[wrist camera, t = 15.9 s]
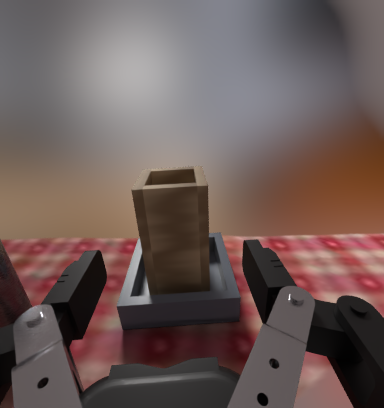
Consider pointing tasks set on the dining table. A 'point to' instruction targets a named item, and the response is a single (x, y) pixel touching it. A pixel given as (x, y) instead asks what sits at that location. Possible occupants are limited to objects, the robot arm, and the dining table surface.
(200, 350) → the dining table surface
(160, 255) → the sleeve
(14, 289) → the post
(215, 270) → the tray
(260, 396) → the robot arm
